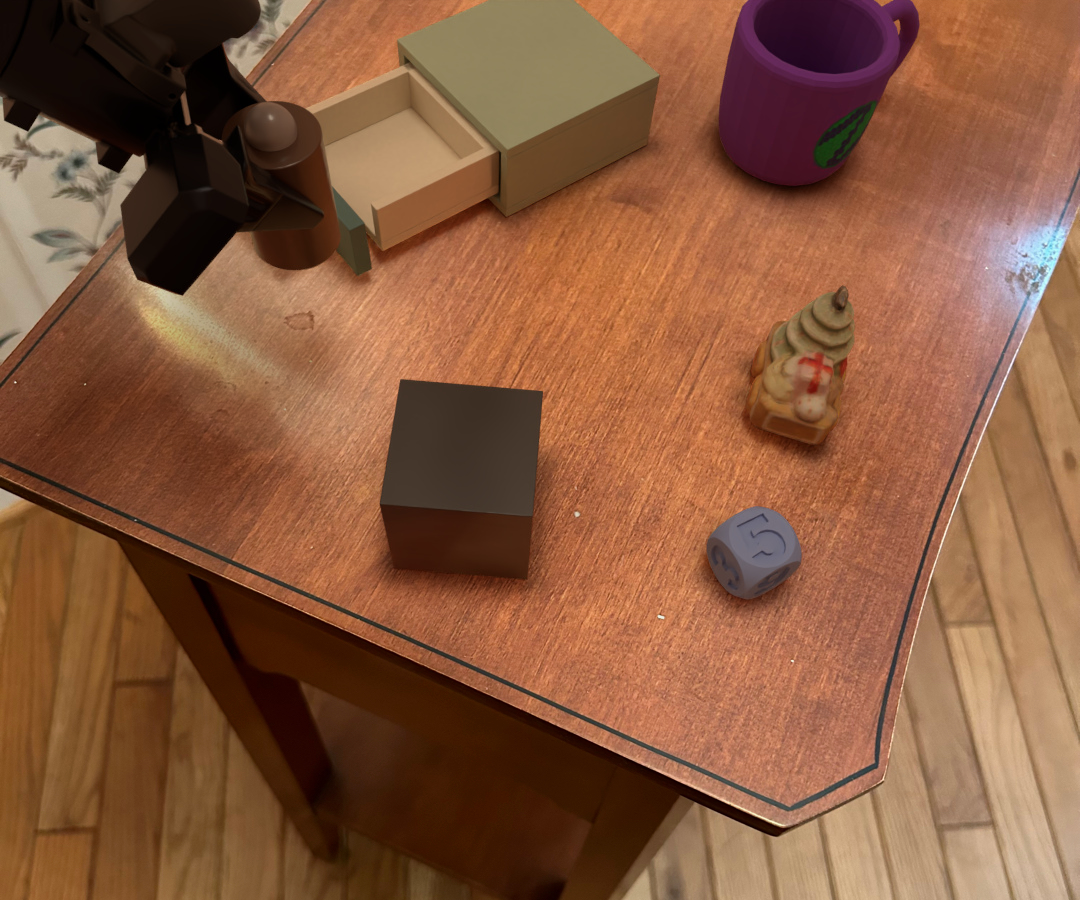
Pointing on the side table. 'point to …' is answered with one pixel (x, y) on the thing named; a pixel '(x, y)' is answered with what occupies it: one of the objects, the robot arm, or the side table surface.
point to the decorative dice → (753, 552)
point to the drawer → (400, 161)
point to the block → (462, 478)
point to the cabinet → (538, 90)
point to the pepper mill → (291, 179)
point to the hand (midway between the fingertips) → (310, 185)
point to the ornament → (803, 370)
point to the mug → (808, 82)
